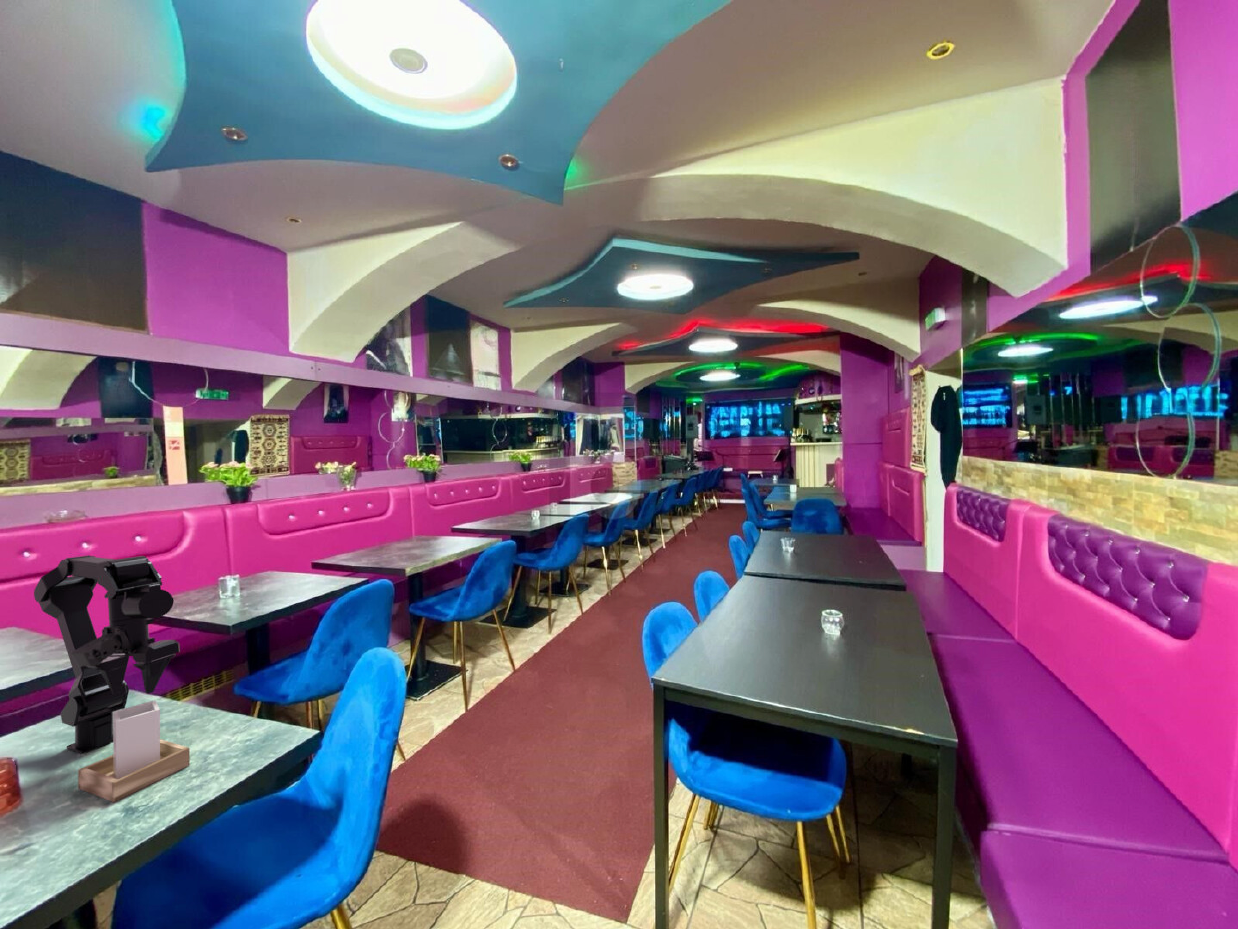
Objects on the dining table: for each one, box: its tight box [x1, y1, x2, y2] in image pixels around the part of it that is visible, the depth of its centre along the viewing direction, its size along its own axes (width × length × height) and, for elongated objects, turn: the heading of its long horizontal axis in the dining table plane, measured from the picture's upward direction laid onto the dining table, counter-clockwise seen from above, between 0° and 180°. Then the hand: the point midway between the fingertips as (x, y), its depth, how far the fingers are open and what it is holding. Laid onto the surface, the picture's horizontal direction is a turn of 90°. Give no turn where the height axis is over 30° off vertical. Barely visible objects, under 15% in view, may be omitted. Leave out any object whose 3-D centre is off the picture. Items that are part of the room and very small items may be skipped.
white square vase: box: [112, 699, 161, 779], centre depth 96 cm, size 6×6×12 cm
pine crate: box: [77, 738, 191, 803], centre depth 95 cm, size 12×12×4 cm
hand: (133, 693), depth 102 cm, fingers open, 9 cm apart
